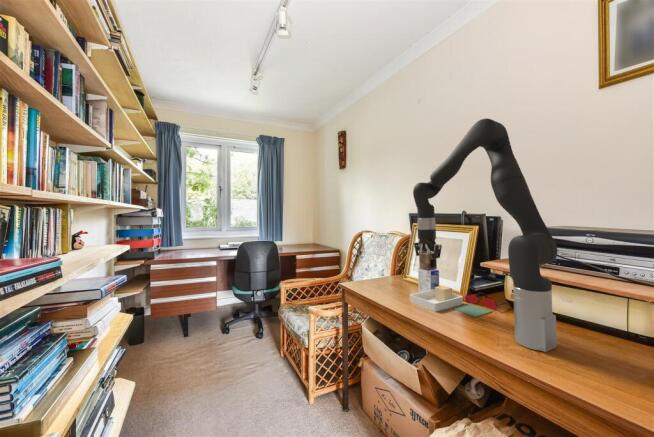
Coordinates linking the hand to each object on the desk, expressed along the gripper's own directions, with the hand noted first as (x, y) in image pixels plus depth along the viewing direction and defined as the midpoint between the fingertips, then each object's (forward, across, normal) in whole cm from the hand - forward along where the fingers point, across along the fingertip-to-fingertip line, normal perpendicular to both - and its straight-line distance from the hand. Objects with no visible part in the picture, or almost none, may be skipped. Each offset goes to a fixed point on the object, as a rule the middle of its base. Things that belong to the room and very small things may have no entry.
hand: (428, 266), depth 115 cm
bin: (+17, 0, -4) cm, 18 cm away
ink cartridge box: (+17, +13, -13) cm, 25 cm away
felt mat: (+17, -14, -9) cm, 24 cm away
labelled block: (+1, 0, 0) cm, 1 cm away
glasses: (+18, -12, -24) cm, 32 cm away
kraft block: (+17, 0, -9) cm, 19 cm away
